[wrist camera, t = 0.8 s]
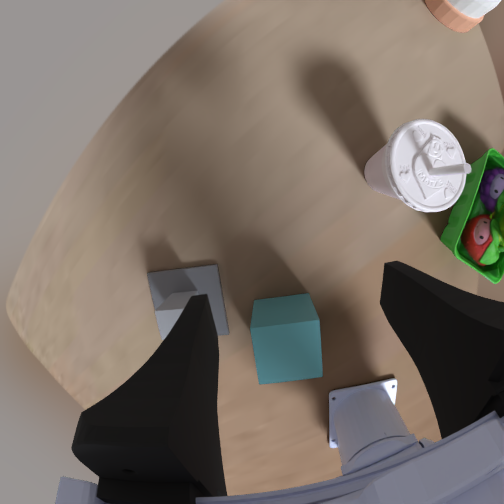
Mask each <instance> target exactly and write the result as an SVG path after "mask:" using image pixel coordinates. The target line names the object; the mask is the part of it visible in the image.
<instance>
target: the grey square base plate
mask: <svg viewBox="0 0 504 504" xmlns="http://www.w3.org/2000/svg"><path fill="white" fill-rule="evenodd" d="M147 276H148V280H149V285H150V290H151V294H152V299H153V303H154V307H155V315H156V319H157V323H158V327H159V331H160V335H161V339H162V340H164V339H165V338H166V336H167V335H168V334H169V332H170V331H171V329H172V327H173V326H174V324H175V323H176V321H177V320H178V318H179V316H180V315H181V313H182V311H183V309H184V308H185V306H186V304H187V302H188V301H189V299H190V298H191V296H194V295H201V294H207V295H208V299H209V303H210V307H211V311H212V315H213V319H214V322H215V326H216V330H217V335H229V328H228V322H227V317H226V311H225V305H224V300H223V294H222V288H221V282H220V276H219V270H218V264H213V265H205V266H197V267H189V268H180V269H172V270H164V271H156V272H149V273H147Z"/></svg>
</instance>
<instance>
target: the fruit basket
mask: <svg viewBox="0 0 504 504" xmlns="http://www.w3.org/2000/svg"><path fill="white" fill-rule="evenodd" d="M470 166H471V172H470V173H468V174H466V181H465V185H464V189H463V191H462V193H461V195H460V197H459V198H458V200H457V201H456V202H457V203H455V205H454V206H453V209H452V211H451V214H450V217H449V221H448V225H447V226H446V227H445V229H444V231H443V234H442V236H441V239H440V240H441V242H442V243H443V244H444V245H446V246H447V247H448V248H449V249H450V250H451V251H452V252H453V254H454V255H455V256H456V257H457V259H459V260H461V261H462V262H464V263H465V264H467V265H468V266H470V267H471V268H473V269H474V270H476V271H477V272H479V273H480V274H481V275H483V276H484V277H486V278H487V279H488V280H489V281H491V282H492V283H494V284H496V283H498V282H499V281H500V280H501V278H502V276H503V274H504V157H503V156H502V155H501V154H500V153H499V152H497V151H496V150H495V149H493V148H491V149H489V150H488V151H487V152H486V153H485V154H484V155H483V156H482V157H481V158H479V159H478V160H476V161H475V162H474V163H472V164H471V165H470Z"/></svg>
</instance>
